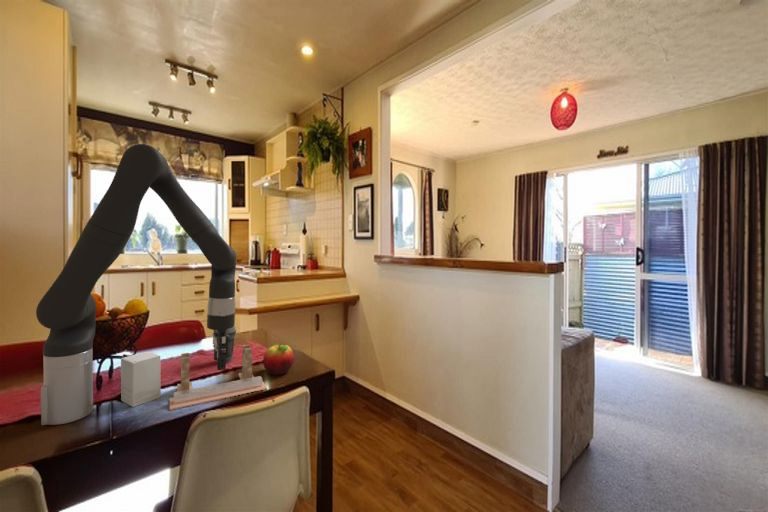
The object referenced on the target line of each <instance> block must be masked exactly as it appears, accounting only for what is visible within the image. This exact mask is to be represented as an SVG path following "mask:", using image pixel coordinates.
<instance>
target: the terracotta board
mask: <svg viewBox="0 0 768 512" xmlns="http://www.w3.org/2000/svg"><path fill="white" fill-rule="evenodd" d="M265 389H267V390H268V387H267V385H266V384H265V382H264V381H263V380H262V386H260V387H255V388H250V389H245V390H240V391H236V392H231V393H226V394H221V395H216V396H211V397H207V398H202V399H197V400H192V401H187V402H182V403H178V404H174V396H173V397H169V411H174V410H173V409H175V410H178V409H177V408H180V409H183V408H182V407H184V408H188V407H187V406H189V407H193V406H192V405H194V406H197V405H202V404H208V403H211V402H216V401H221V400H225V398H226V399H229V398H230V397H231V398H235V397H234V396H236V397H239V396H238V395H240V396H243V395H242V394H245V395H247V394H246V393H249V394H252V393H251V392H254V391H259V392H261V391H260V390H263V391H266V390H265ZM254 393H255V392H254Z"/></svg>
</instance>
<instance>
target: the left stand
mask: <svg viewBox="0 0 768 512" xmlns="http://www.w3.org/2000/svg"><path fill="white" fill-rule="evenodd" d="M180 354H181V355H180V383H177V385H176V386H177V387H176V390H177V391H176V392H179V391H184V390H190V389H194V386H193V382H192V381H191V382H190V356H189V355H190V354H189V352H184V353H180Z"/></svg>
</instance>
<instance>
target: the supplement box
mask: <svg viewBox="0 0 768 512" xmlns="http://www.w3.org/2000/svg"><path fill="white" fill-rule="evenodd" d="M161 384H162V383H161V355H160V354H157V353H154V352H151V351H144V352H140V353H136V354H132V355H128V356H124V357H121V358H120V393H121V394H120V396H121V398H120V400H121V401H122V402H123V403H125V404H127V405H129V406H130V407H132V408H134V407H138V406H141V405H142V404H146V403H149V402H152V401H154V400H157V399H159V398H161V395H162V394H161V391H162V390H161Z"/></svg>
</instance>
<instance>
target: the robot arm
mask: <svg viewBox="0 0 768 512" xmlns="http://www.w3.org/2000/svg"><path fill="white" fill-rule="evenodd" d="M114 173H115V174H114V175H113V178H112V181H111V182H110V184H109V185H110V186H109V187H108V189H107V190H106V192H105V194H103V197H102V198H101V199H100V201H99V203H98V204H97V206H96V208H95V210H94V211H93V213H92V215H91V216H90V218H89V219H88V221H87V223H86V224H85V226H84V228H83V230H82V231H81V234H80V235H79V238H78V239H77V242H76V243H75V245H74V247H73V248H72V251H71V252H70V254H69V256H68V258H67V260H66V263H65V265H64V267H63V269H62V270H61V271H60V273H59V275H58V276H57V277H56V279H55V280H54V282H53V283H52V284H51V286H50V287H49V289H48V290H47V291H46V292H45V293H44V295H43V296H42V298H41V299H40V300H39V302H38V304H37V305H36V310H35V316H36V319H37V321H38V323H39V324H40V325H41V326H43V327H44V328H47V329H49V334H48V337H47V339H46V340H45V341H44V343H43V347H42V356H43V358H42V359H43V360H42V361H43V385H42V386H41V388H40V413H41V415H40V417H41V421H40V423H41V424H40V425H41V426H46V425H49V426H50V425H51V426H55V425H63V424H64V425H65V424H69V423H72V422H76V421H78V420H81V419H83V418H85V417H86V416H88V415H90V414H91V413H92V412H93V410H94V385H93V384H94V381H93V379H94V377H93V376H94V375H93V374H94V373H93V372H94V370H93V364H94V363H93V359H94V358H93V341H94V338H95V335H96V325H97V323H96V319H97V318H96V317H97V314H96V313H97V308H96V307H97V306H96V300H95V298H94V296H93V295H92V292H93V290H94V287H95V285H96V284H97V283H98V281H99V280H100V278H101V277H102V276H103V275H104V273H106V271H107V270H108V269H109V268H110V267H111V266H112V264H113V263H114V262H115V261H116V260H117V259H118V257H119V256H120V255H121V253H122V252H123V251H124V249H125V247H126V246H127V244H128V242H129V240H130V238H131V236H132V234H133V233H134V230H135V226H136V223H137V220H138V217H139V216H138V215H139V210H140V205H141V203H142V201H143V198H144V197H145V195H146V193H147V192H148V191H149V189H151V190H153V192H155V194H157V196H159V198H160V199H161V200H162V201H163V202H164V204H165V205H166V207H167V208H168V210H169V211H170V212H171V214H172V215H173V217H174V218H175V220H176V221H177V223H178V225H180V227H181V229H183V231H184V232H185V233H186V235H188V237H189V238H190V239H191V240H192V241H193V242H194V243H195V245H197V247H198V248H199V250H200V251H201V252H202V254H203V256H204V257H205V258H206V259H207V261H208V263H209V264H210V267H211V268H210V269H211V273H210V274H211V275H210V277H211V278H210V281H209V288H208V301H207V314H206V328H207V329H209V330H212V331H213V332H212V345H213V346H212V347H213V360H214V361H217V362H216V363H217V364H216V368H217V371H223V370H226V367H227V363H226V357H228V339H229V334H227V332H226V330H227V329H230V328H232V327H234V326H235V322H236V297H235V296H236V279H235V278H236V277H235V276H236V269H237V268H236V267H237V253H236V251H235V250H234V248H233V247H231V246H229V244H228V243H227V241H225V239H223V237H222V236H221V234H219V232H218V230H217V228H216V227H215V225H214V224H213V223H212V222H211V219H209V218H208V216H207V215H206V214H205V213H204V212H203V210H201V209H200V207H199V206H198V205H197V204H196V203H195V202H194V201H193V199H192V198H191V196H189V195H188V193H187V192H186V191H185V189H184V188H183V187H182V186H181V184H180V182H179V181H178V179H177V178H176V176H175V174H174V173H173V170H172V169H171V167H170V165H169V163H168V161H167V159H166V157H165V156H164V155H163V154H162V153H161V152H160V151H159V150H158V149H156V148H155V147H154V146H152V145H149V144H144V143H137V144H134V145H131V146H130V147H128V148H127V149H125V151H124V153H123V154H122V156H121V158H120V161H119V163H118V166H117V168H116V172H114ZM222 350H224V352H225V353H222Z"/></svg>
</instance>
